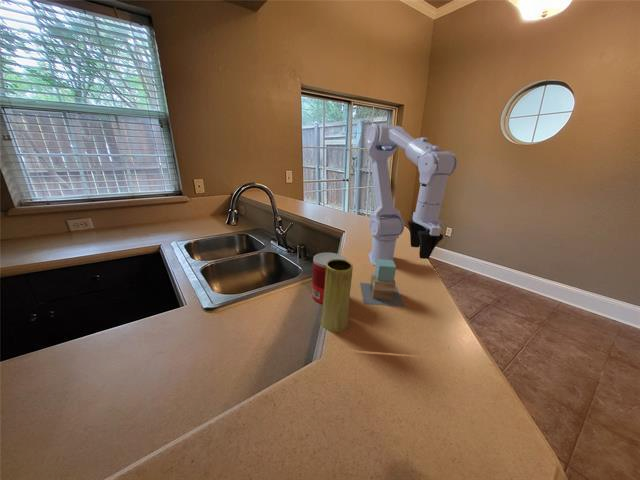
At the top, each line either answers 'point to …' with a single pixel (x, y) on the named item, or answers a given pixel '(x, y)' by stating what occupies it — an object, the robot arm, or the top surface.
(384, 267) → the cube
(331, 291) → the vase
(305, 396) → the top surface
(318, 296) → the canned food
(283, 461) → the top surface
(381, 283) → the tower mid
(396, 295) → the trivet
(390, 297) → the tower base
